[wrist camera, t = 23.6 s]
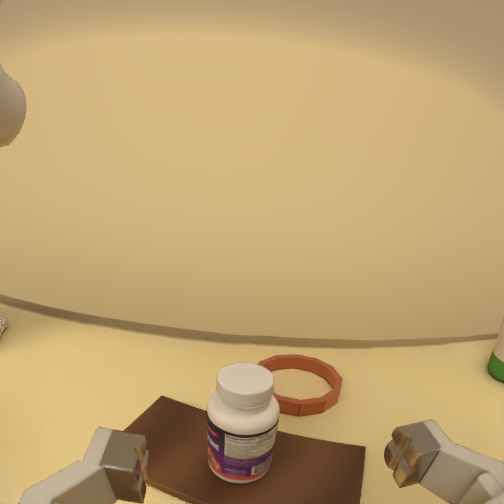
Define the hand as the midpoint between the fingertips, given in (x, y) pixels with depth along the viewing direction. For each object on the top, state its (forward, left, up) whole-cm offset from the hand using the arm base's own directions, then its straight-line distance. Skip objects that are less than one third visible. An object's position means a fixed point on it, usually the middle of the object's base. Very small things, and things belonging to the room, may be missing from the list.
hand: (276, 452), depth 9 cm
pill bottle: (-5, +11, -15) cm, 19 cm away
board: (-5, +11, -16) cm, 20 cm away
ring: (-3, +26, -16) cm, 30 cm away
